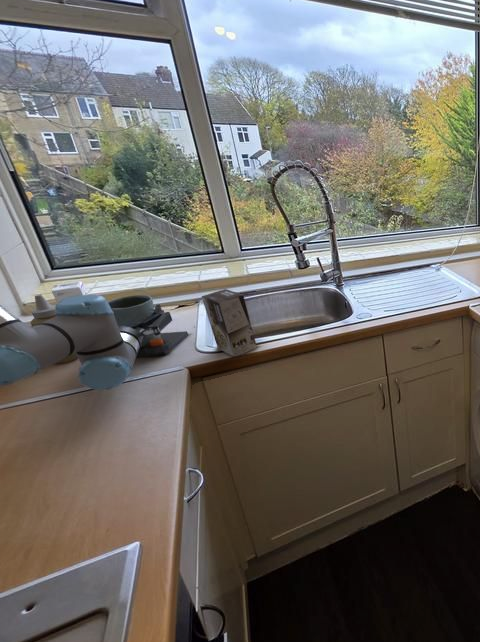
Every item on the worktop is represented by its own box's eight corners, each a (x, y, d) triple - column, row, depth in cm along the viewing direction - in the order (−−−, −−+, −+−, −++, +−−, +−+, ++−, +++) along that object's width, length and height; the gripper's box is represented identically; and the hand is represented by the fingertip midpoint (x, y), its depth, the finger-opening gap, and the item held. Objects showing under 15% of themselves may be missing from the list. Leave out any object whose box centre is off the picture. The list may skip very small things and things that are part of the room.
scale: (101, 363, 105) (97, 353, 104) (133, 339, 117) (129, 330, 116) (166, 357, 108) (163, 347, 107) (191, 335, 120) (188, 326, 119)
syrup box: (100, 324, 126) (81, 280, 120) (98, 331, 121) (79, 285, 116) (74, 329, 122) (53, 284, 117) (71, 336, 118) (50, 290, 112)
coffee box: (258, 347, 114) (244, 294, 108) (234, 357, 109) (218, 302, 103) (240, 339, 118) (226, 288, 112) (216, 348, 113) (200, 295, 107)
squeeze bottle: (43, 369, 102) (9, 304, 95) (48, 356, 108) (17, 294, 101) (87, 359, 107) (58, 296, 100) (90, 347, 112) (63, 287, 105)
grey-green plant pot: (118, 339, 113) (101, 300, 108) (164, 329, 119) (150, 291, 115) (117, 353, 106) (100, 312, 101) (166, 342, 112) (152, 302, 108)
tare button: (149, 347, 108) (147, 342, 107) (154, 343, 110) (152, 338, 110) (160, 346, 108) (158, 341, 108) (165, 342, 111) (163, 337, 110)
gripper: (60, 372, 92) (87, 333, 109) (182, 348, 103) (189, 316, 120) (45, 343, 89) (76, 308, 106) (172, 321, 100) (181, 292, 117)
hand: (136, 312), depth 113 cm, fingers closed on grey-green plant pot, 10 cm apart
